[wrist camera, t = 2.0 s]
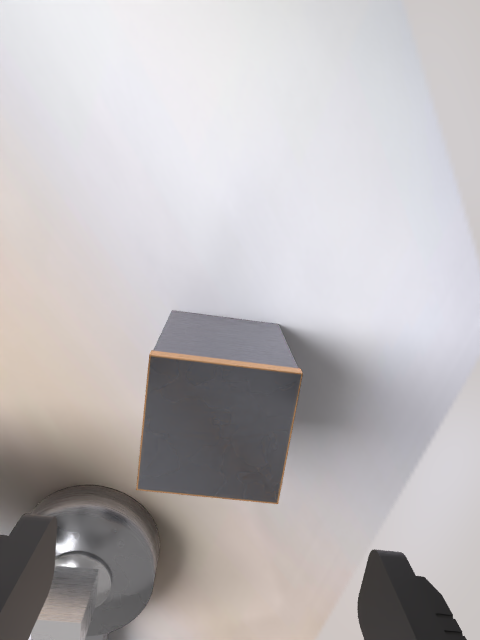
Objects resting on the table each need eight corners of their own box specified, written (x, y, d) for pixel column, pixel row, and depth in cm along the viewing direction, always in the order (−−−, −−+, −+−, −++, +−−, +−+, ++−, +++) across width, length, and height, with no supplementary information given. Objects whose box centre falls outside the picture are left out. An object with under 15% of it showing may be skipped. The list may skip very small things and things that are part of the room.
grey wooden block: (171, 309, 23) (149, 354, 16) (279, 323, 23) (302, 373, 17) (160, 409, 24) (136, 490, 18) (262, 421, 25) (277, 504, 18)
